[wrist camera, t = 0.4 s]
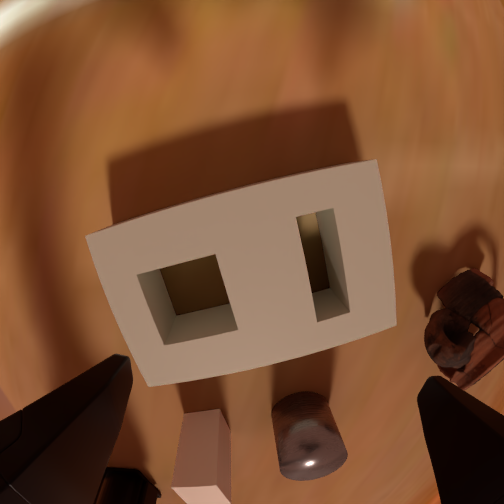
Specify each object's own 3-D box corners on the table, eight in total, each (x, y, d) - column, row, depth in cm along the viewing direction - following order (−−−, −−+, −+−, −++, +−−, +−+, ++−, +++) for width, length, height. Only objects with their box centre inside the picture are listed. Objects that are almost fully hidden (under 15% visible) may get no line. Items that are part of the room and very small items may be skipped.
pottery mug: (494, 258, 21) (542, 320, 15) (445, 321, 27) (481, 379, 21) (427, 266, 17) (495, 363, 11) (368, 346, 23) (409, 427, 17)
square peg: (197, 436, 23) (189, 506, 15) (184, 413, 22) (171, 487, 14) (230, 431, 23) (231, 503, 15) (219, 408, 22) (216, 485, 14)
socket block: (161, 354, 20) (148, 386, 16) (112, 224, 18) (85, 236, 14) (371, 301, 20) (396, 325, 16) (349, 162, 18) (376, 159, 14)
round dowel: (277, 435, 23) (286, 485, 17) (265, 400, 22) (273, 455, 16) (330, 421, 23) (348, 469, 17) (325, 384, 22) (346, 435, 16)
